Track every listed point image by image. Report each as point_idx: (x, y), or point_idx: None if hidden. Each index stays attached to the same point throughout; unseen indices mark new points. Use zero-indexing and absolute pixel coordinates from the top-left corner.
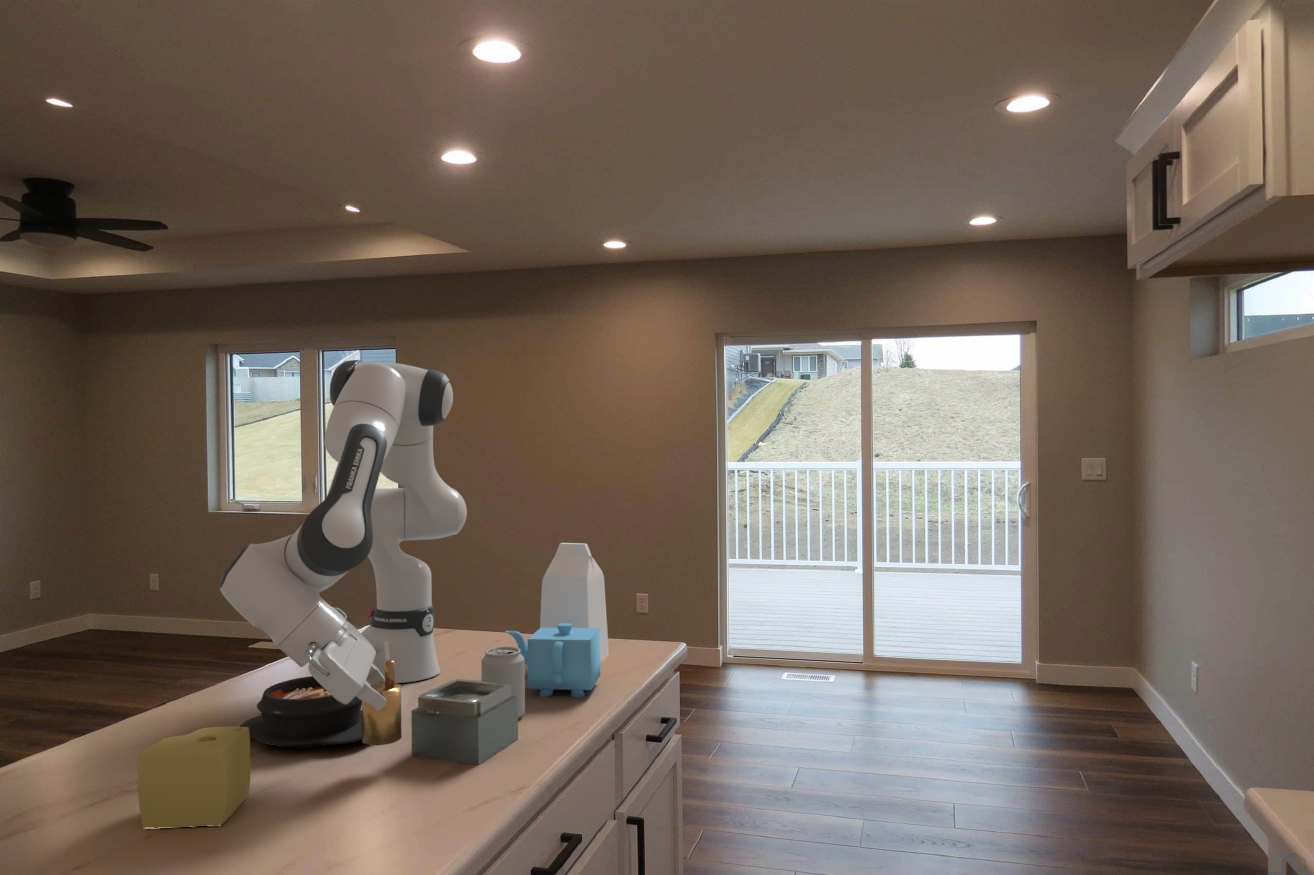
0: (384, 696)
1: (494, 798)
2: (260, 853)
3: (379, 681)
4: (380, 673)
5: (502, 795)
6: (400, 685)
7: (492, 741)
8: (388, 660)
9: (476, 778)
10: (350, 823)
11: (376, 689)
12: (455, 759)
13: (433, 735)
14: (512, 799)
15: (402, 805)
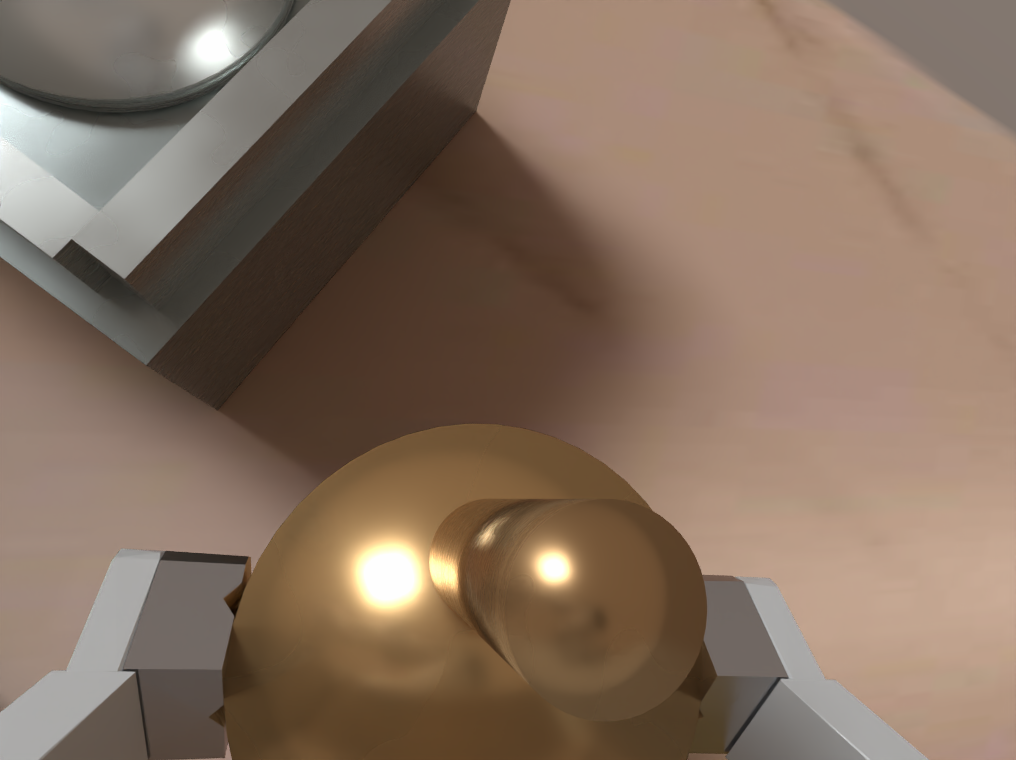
0: (717, 608)
1: (840, 121)
2: None
3: (135, 723)
4: (17, 747)
5: (821, 89)
6: (427, 430)
7: None
8: (554, 640)
9: (630, 148)
10: (951, 667)
11: (518, 727)
12: (396, 198)
13: (301, 261)
14: (862, 64)
15: (831, 465)
